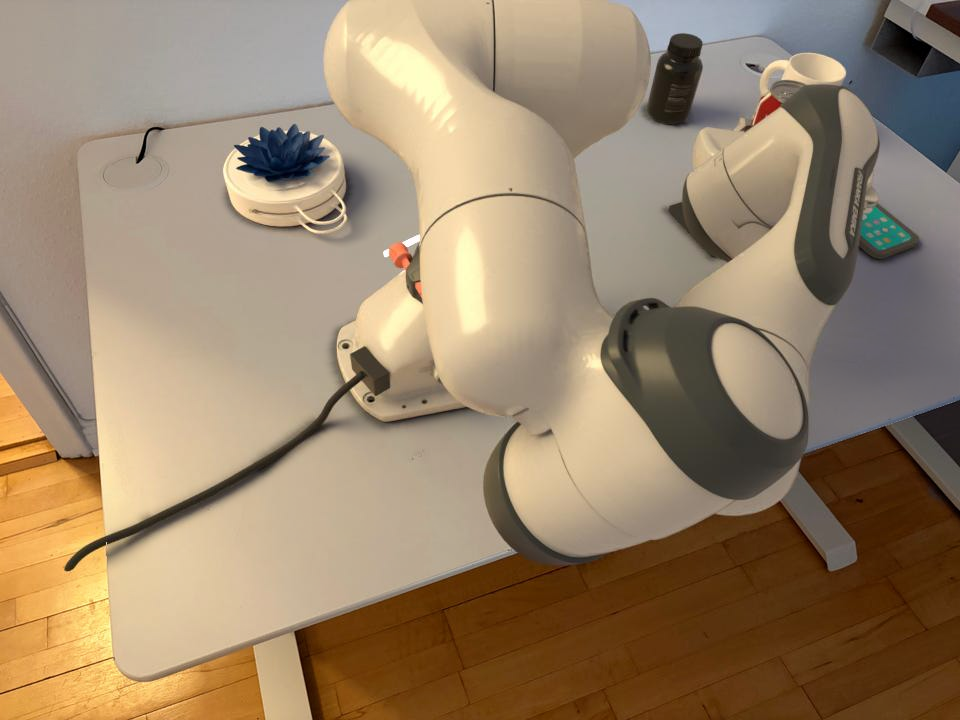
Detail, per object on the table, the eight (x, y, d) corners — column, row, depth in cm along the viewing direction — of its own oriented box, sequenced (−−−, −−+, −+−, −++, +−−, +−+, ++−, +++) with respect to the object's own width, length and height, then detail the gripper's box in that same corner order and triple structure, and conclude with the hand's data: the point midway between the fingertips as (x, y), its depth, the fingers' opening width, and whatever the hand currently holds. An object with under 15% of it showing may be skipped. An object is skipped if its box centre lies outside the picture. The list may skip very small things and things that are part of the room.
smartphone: (845, 174, 105) (924, 238, 97) (842, 180, 106) (921, 244, 98) (800, 189, 102) (878, 256, 94) (797, 195, 103) (875, 261, 95)
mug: (735, 112, 116) (757, 51, 108) (766, 97, 119) (790, 36, 111) (796, 149, 110) (824, 88, 102) (827, 132, 114) (857, 71, 106)
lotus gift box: (197, 137, 93) (272, 220, 84) (302, 100, 100) (383, 173, 91) (209, 181, 99) (282, 263, 90) (309, 142, 105) (386, 215, 96)
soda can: (786, 196, 91) (826, 112, 82) (732, 187, 92) (766, 102, 83) (782, 165, 96) (821, 81, 86) (731, 156, 96) (764, 72, 87)
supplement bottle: (694, 111, 116) (717, 38, 106) (678, 131, 112) (700, 57, 103) (655, 96, 118) (674, 24, 108) (638, 116, 114) (656, 42, 105)
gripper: (894, 188, 77) (873, 117, 86) (704, 159, 79) (702, 93, 88) (867, 233, 82) (849, 162, 91) (688, 205, 84) (687, 137, 92)
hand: (776, 128), depth 89 cm, fingers closed on soda can, 6 cm apart
